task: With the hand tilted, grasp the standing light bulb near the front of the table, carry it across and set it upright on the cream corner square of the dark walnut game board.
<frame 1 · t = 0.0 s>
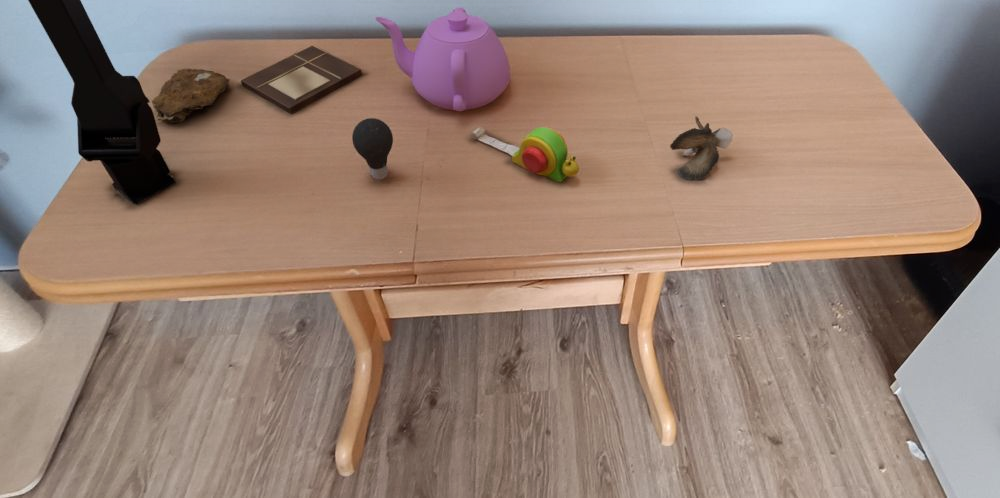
teapot: (448, 91, 104), on the table
decorative rock: (194, 104, 101), on the table
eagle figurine: (694, 162, 90), on the table
light bulb: (380, 178, 88), on the table
toy measuring tape: (523, 159, 91), on the table
game board: (303, 80, 106), on the table
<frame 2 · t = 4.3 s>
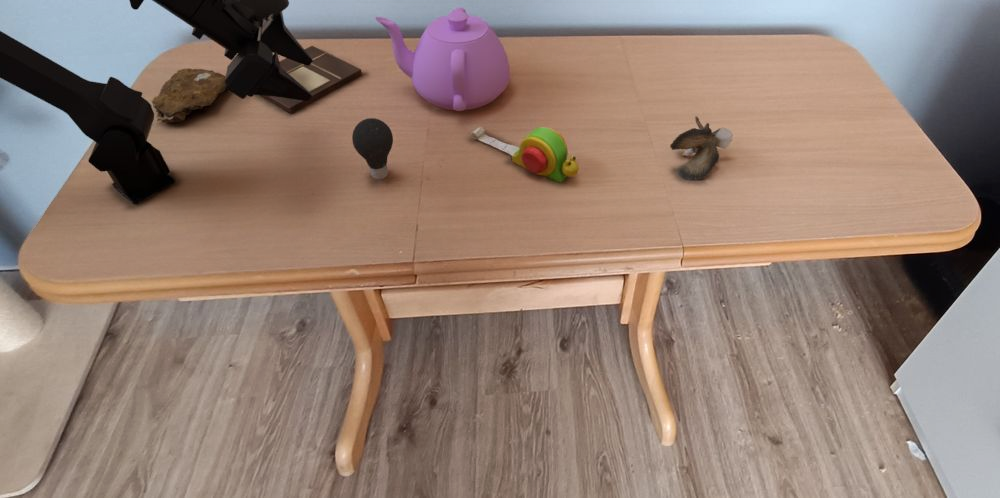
hand: (310, 79, 80), 14 cm above the table, tool tilted 40°, fingers open, 9 cm apart
nothing on the table moved.
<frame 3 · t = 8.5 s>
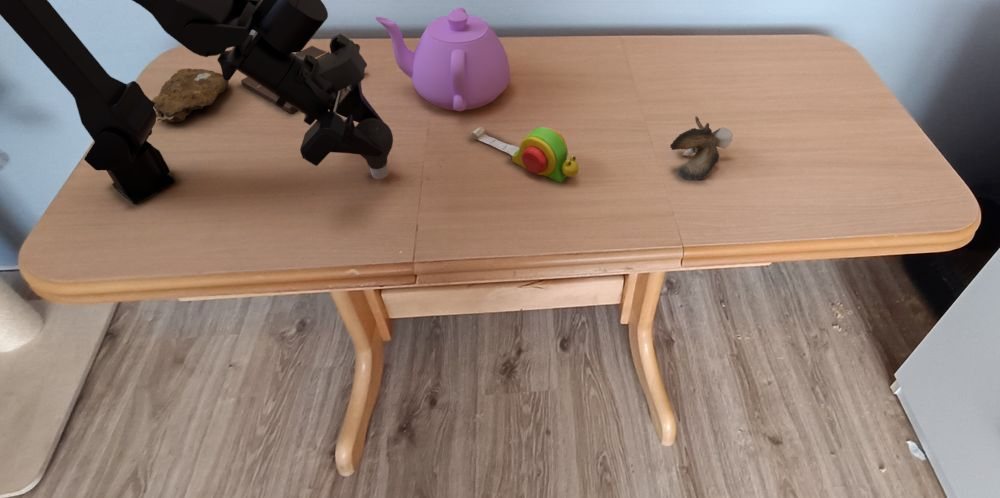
hand: (383, 141, 83), 7 cm above the table, tool tilted 45°, fingers closed on light bulb, 5 cm apart
light bulb: (380, 178, 88), on the table, touching gripper
everything else where it was.
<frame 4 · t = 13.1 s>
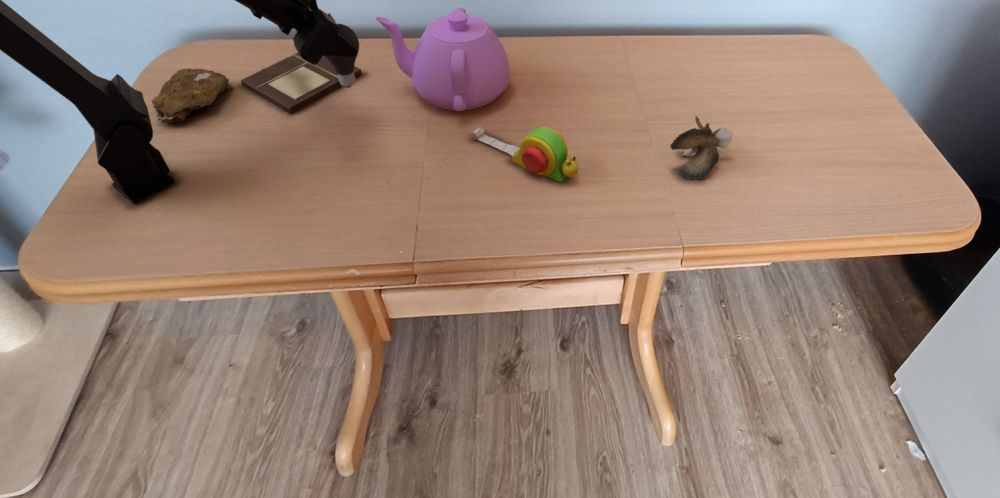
hand: (349, 45, 88), 13 cm above the table, tool tilted 45°, fingers closed on light bulb, 5 cm apart
light bulb: (348, 87, 92), point 7 cm above the table, touching gripper
everything else where it was.
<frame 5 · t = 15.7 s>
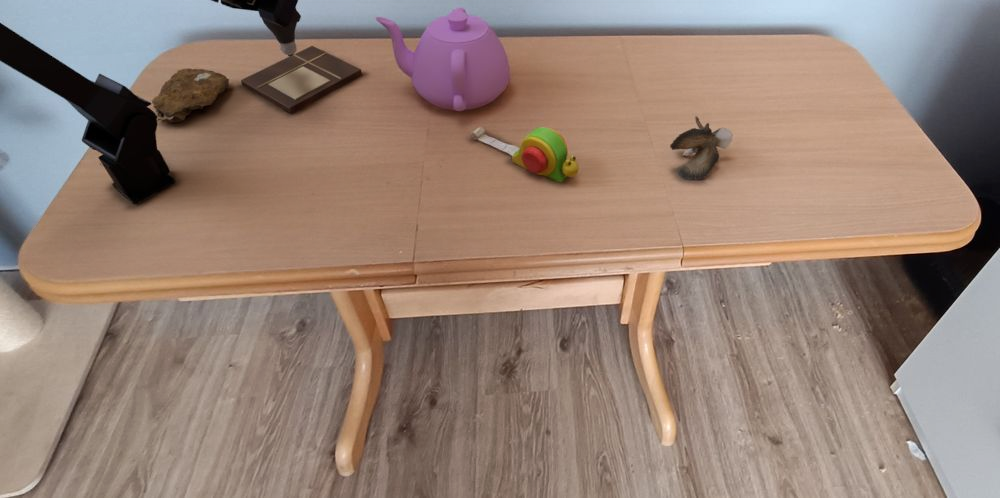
hand: (286, 14, 95), 13 cm above the table, tool tilted 45°, fingers closed on light bulb, 5 cm apart
light bulb: (291, 56, 99), point 6 cm above the table, touching gripper
everything else where it was.
when the fingers open (8 cm above the table, at t = 17.7 s): light bulb stays where it is, resting on game board.
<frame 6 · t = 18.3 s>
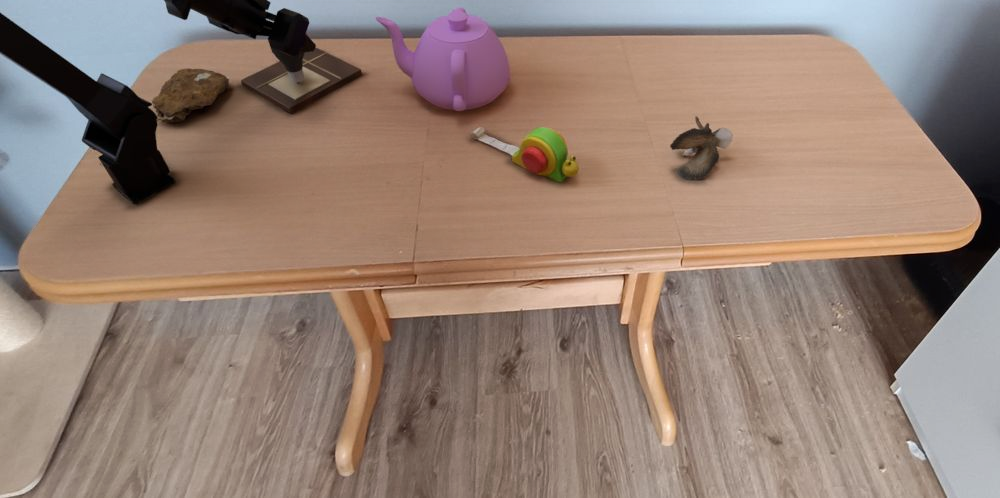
hand: (294, 40, 99), 9 cm above the table, tool tilted 45°, fingers open, 9 cm apart
light bulb: (298, 83, 103), point 1 cm above the table, touching game board
everything else where it was.
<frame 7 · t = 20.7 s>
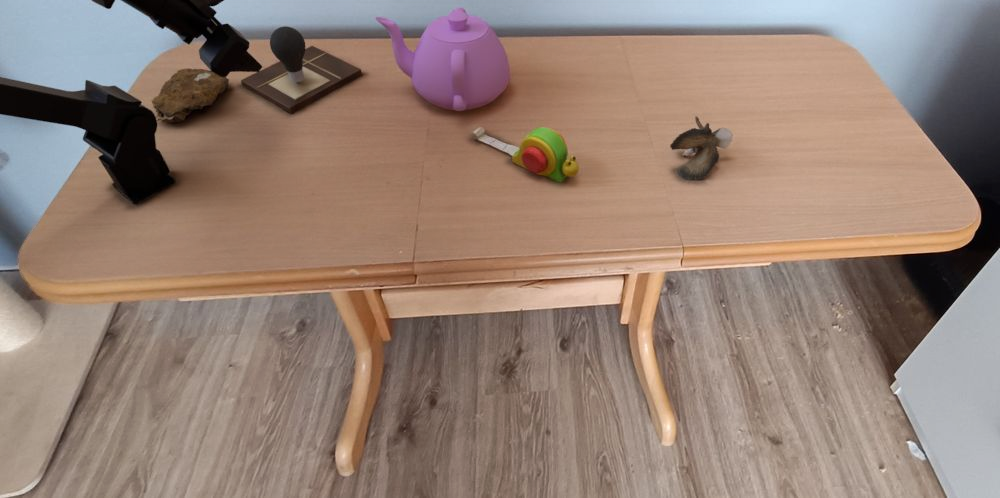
hand: (245, 53, 90), 11 cm above the table, tool tilted 35°, fingers open, 9 cm apart
nothing on the table moved.
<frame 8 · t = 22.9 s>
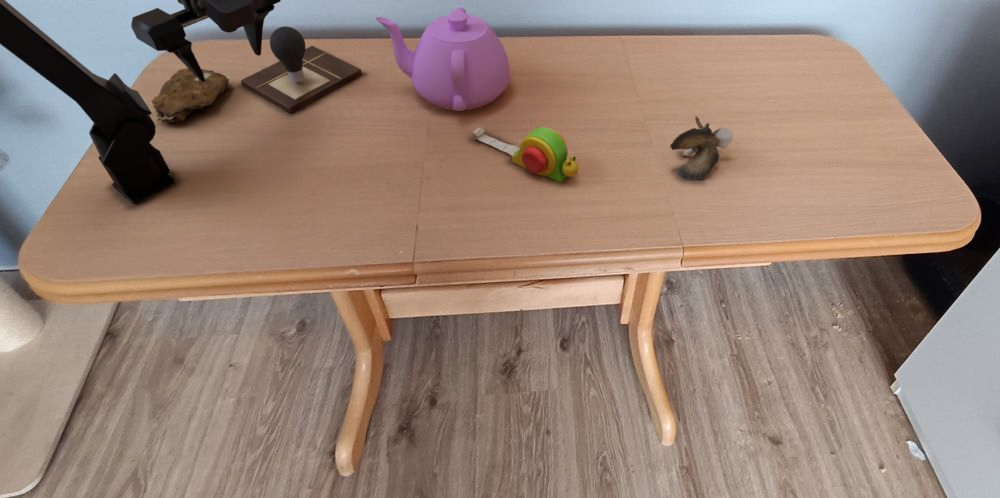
hand: (231, 67, 84), 13 cm above the table, tool pointing down, fingers open, 9 cm apart
nothing on the table moved.
at the end: light bulb 0.2 cm from the target spot on the game board, point 1.2 cm above the game board's base; light bulb tilted 0°; the gripper is holding nothing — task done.
